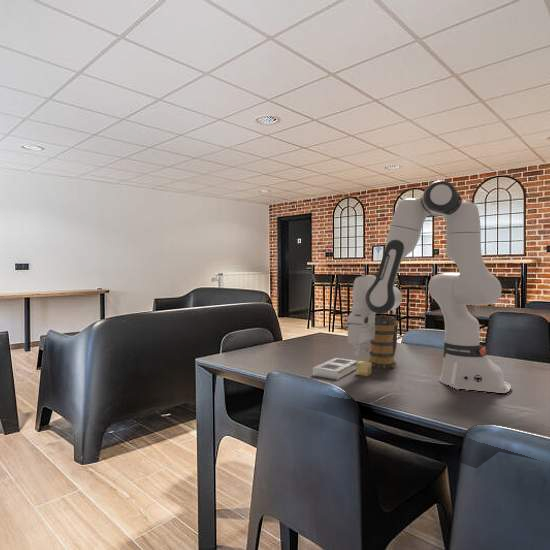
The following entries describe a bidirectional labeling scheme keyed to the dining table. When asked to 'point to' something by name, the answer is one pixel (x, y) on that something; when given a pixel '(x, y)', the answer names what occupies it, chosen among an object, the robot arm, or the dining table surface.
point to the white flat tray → (335, 368)
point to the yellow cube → (363, 368)
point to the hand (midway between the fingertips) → (361, 353)
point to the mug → (384, 343)
